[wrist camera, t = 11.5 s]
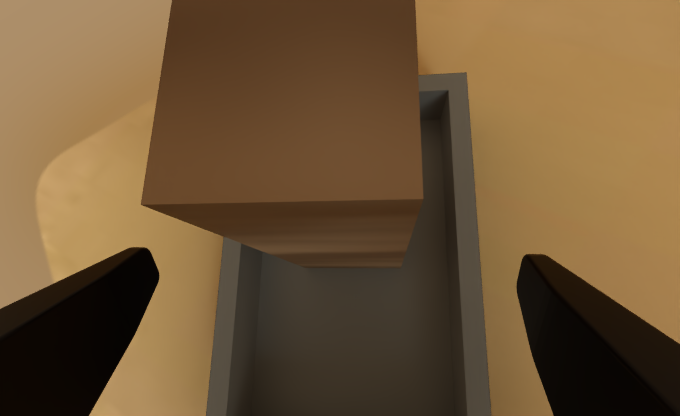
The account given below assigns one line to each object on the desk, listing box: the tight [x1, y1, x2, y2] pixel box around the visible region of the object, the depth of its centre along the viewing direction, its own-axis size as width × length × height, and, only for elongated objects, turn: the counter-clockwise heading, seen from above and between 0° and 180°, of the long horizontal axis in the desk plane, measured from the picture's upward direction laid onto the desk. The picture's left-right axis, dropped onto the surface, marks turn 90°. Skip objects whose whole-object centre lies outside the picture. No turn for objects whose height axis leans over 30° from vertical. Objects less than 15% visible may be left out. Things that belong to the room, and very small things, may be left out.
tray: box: [206, 72, 491, 416], centre depth 16 cm, size 16×10×4 cm, turn 179°
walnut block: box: [141, 0, 423, 268], centre depth 12 cm, size 4×4×12 cm
